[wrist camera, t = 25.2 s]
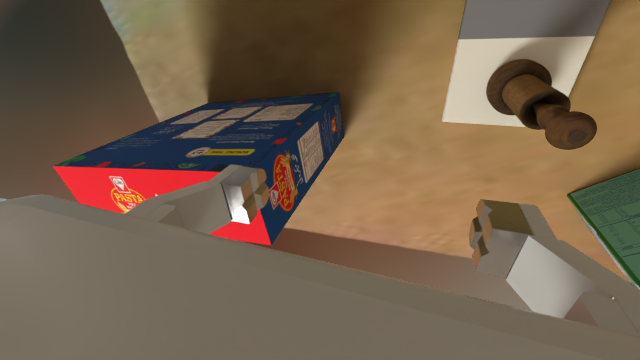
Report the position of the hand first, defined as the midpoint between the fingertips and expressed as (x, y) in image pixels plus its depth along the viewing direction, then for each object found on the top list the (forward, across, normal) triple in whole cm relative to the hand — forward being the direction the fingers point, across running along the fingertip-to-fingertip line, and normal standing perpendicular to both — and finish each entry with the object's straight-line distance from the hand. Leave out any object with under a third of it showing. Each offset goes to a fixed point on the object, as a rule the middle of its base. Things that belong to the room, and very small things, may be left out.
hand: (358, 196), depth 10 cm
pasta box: (+35, +24, +10) cm, 44 cm away
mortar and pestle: (+34, -14, +3) cm, 37 cm away
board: (+35, -13, -3) cm, 38 cm away
